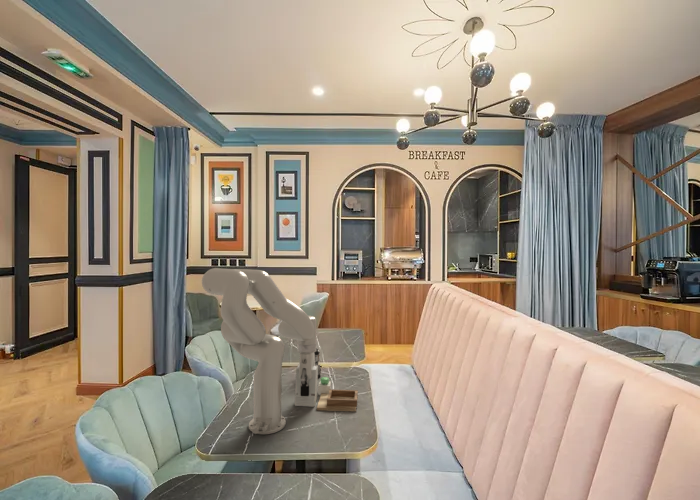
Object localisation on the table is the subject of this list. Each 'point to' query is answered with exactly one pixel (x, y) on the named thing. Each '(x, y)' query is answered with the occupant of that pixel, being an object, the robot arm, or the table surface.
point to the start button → (324, 380)
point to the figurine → (317, 361)
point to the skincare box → (312, 385)
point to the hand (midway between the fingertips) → (306, 391)
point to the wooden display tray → (338, 400)
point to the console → (324, 388)
